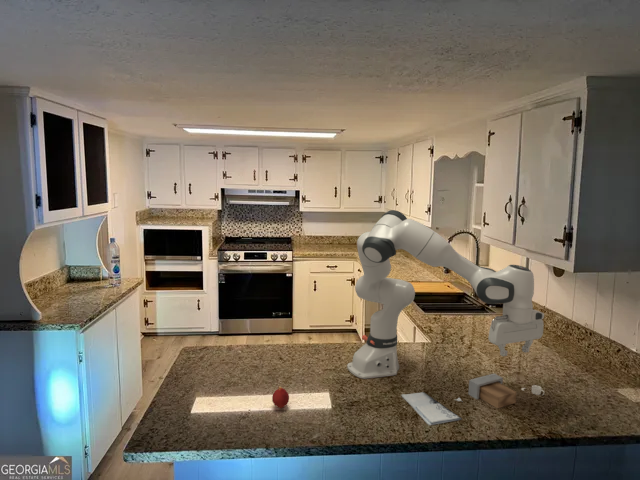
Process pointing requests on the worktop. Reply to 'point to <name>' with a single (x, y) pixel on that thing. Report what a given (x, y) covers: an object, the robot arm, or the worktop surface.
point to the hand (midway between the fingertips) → (514, 353)
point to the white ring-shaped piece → (535, 390)
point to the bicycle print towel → (430, 408)
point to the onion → (280, 397)
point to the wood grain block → (497, 394)
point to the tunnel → (482, 383)
